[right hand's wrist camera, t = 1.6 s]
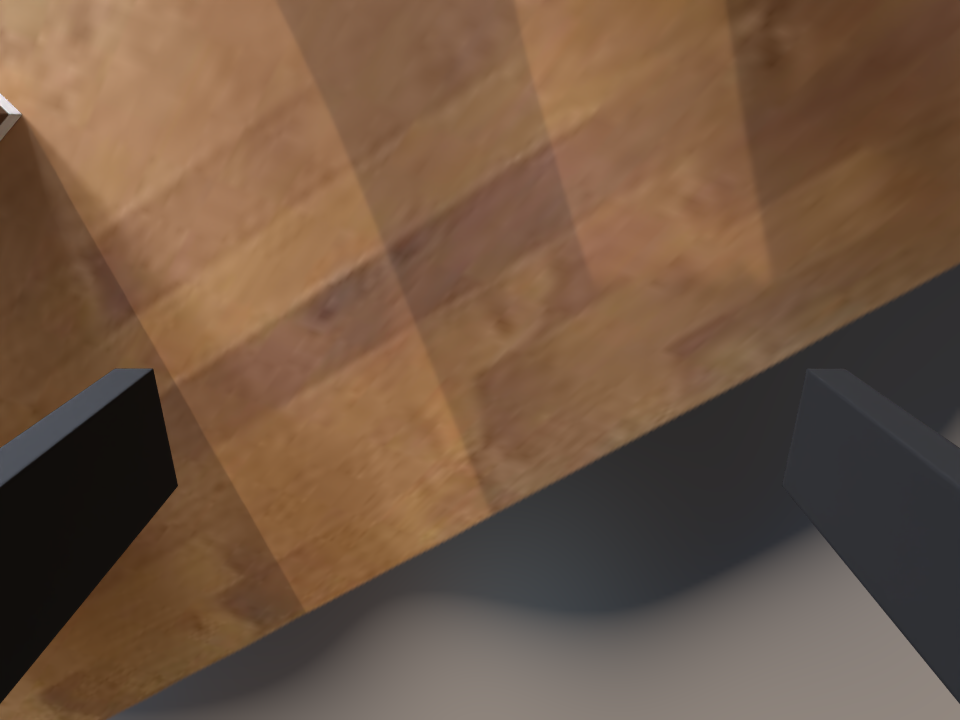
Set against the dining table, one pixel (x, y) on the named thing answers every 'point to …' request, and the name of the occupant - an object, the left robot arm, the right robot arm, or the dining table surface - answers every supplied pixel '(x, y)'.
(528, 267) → the dining table surface
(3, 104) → the cabinet
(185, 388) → the dining table surface
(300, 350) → the dining table surface
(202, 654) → the dining table surface
